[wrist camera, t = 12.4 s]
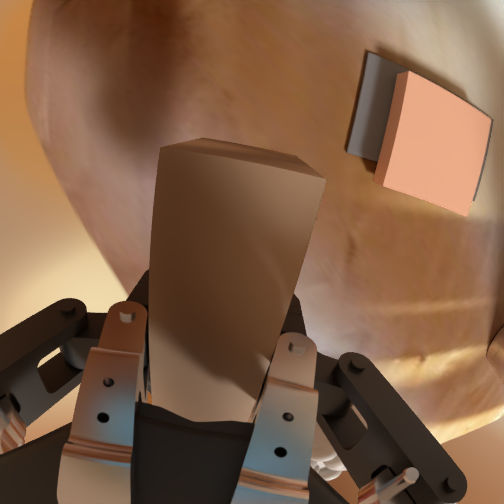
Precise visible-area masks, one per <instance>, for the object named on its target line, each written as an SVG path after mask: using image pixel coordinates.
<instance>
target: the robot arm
mask: <svg viewBox="0 0 504 504" xmlns="http://www.w3.org/2000/svg"><path fill="white" fill-rule="evenodd" d="M58 347H59V348H60V351H61V352H60V353H58V354H57V355H55V356H54V357H53V358H51V359H50V360H48V361H47V362H45V363H44V364H43V365H41V366H40V367H39V368H37V366H38V363H39V362H40V360H41V359H42V358H44V357H45V356H47V355H48V354H50V353H51V352H52V351H54V350H55V349H57V348H58ZM487 360H488V361H489V363H490V364H491V366H492V367H493V369H494V370H495V371H496V373H497V374H498V376H499V378H500V379H501V381H502V382H503V384H504V326H503V327H502V328H501V330H500V331H499V332H498V333H497V335H496V336H495V338H494V339H493V341H492V343H491V345H490V347H489V349H488V352H487ZM149 362H150V358H149V270H147V271H146V272H145V273H144V274H143V276H142V277H141V279H140V280H139V282H138V284H137V285H136V286H135V288H134V289H133V291H132V292H131V294H130V295H129V297H128V298H127V300H126V301H122V302H118V303H115V304H114V305H113V306H111V307H110V308H109V311H108V313H90V312H87V310H86V306H85V304H84V303H83V302H82V301H80V300H78V299H74V298H66V299H62V300H59V301H57V302H55V303H53V304H52V305H50V306H48V307H46V308H45V309H43V310H41V311H39V312H38V313H36V314H34V315H32V316H31V317H29V318H27V319H26V320H24V321H22V322H21V323H19V324H17V325H16V326H14V327H12V328H10V329H9V330H7V331H6V332H4V333H2V334H1V335H0V504H349V503H348V502H347V501H346V500H345V499H344V498H343V497H342V496H341V495H340V494H339V493H338V492H336V491H335V490H334V489H333V488H332V487H331V486H330V485H329V484H328V483H327V482H326V481H325V480H324V479H323V478H322V477H321V476H320V475H319V474H318V473H317V472H316V471H315V470H314V469H313V468H312V467H311V466H310V463H311V456H312V448H313V441H314V433H315V424H316V421H317V423H318V425H319V426H320V428H321V429H322V431H323V433H324V434H325V436H326V438H327V439H328V441H329V442H330V444H331V446H332V447H333V449H334V450H335V452H336V454H337V455H338V457H339V458H340V460H341V461H342V463H343V465H344V466H345V468H346V469H347V471H348V472H349V474H350V476H351V477H352V479H353V480H354V482H355V483H356V485H357V486H358V488H359V489H360V490H359V493H358V497H357V500H358V502H357V504H455V503H457V502H459V501H460V500H461V499H462V498H463V497H464V496H465V493H466V491H467V480H466V477H465V475H464V474H463V472H462V471H461V470H460V469H459V468H458V466H457V465H456V464H455V463H454V461H453V460H452V459H451V457H450V456H449V455H448V454H447V452H446V451H445V450H444V449H443V448H442V446H441V445H440V444H439V442H438V441H437V440H436V439H435V438H434V436H433V435H432V434H431V433H430V431H429V430H428V429H427V428H426V427H425V425H424V424H423V423H422V422H421V420H420V419H419V418H418V417H417V416H416V414H415V413H414V412H413V411H412V410H411V408H410V407H409V406H408V405H407V404H406V402H405V401H404V400H403V399H402V398H401V396H400V395H399V394H398V393H397V392H396V390H395V389H394V388H393V387H392V386H391V384H390V383H389V382H388V381H387V380H386V379H385V377H384V376H383V375H382V374H381V373H380V371H379V370H378V369H377V368H376V367H375V366H374V364H373V363H372V362H371V361H370V360H369V359H368V358H367V357H365V356H363V355H361V354H359V353H354V352H348V353H344V354H342V355H341V356H340V358H339V360H337V359H334V358H331V357H328V356H325V355H323V354H321V353H319V352H317V347H316V344H315V343H314V342H313V341H312V340H311V339H310V338H309V337H307V334H306V329H305V324H304V320H303V316H302V310H301V305H300V301H299V299H298V298H297V297H296V296H295V294H294V293H293V296H292V299H291V302H290V305H289V309H288V312H287V315H286V318H285V321H284V324H283V327H282V329H281V332H280V335H279V338H278V341H277V344H276V347H275V350H274V353H273V355H272V358H271V361H270V364H269V367H268V369H267V372H266V375H265V378H264V380H263V383H262V386H261V388H260V391H259V395H258V398H257V401H256V404H255V408H254V411H253V414H252V417H251V420H250V423H248V422H240V421H232V420H229V421H210V422H194V421H191V420H189V419H186V418H184V417H182V416H179V415H177V414H175V413H173V412H171V411H169V410H166V409H164V408H162V407H160V406H156V405H152V404H148V403H147V394H148V377H149ZM80 383H81V384H80ZM79 384H80V388H79V393H78V397H77V402H76V406H75V411H74V415H73V420H72V422H70V423H68V424H66V425H64V426H62V427H60V428H58V429H56V430H54V431H52V432H50V433H48V434H46V435H43V436H41V437H39V438H37V439H35V440H32V441H30V442H28V443H26V444H25V440H24V438H25V434H26V427H27V426H29V425H30V424H31V423H32V422H34V421H35V420H36V419H37V418H39V417H40V416H41V415H42V414H43V413H45V412H46V411H47V410H48V409H49V408H51V407H52V406H53V405H54V404H55V403H57V402H58V401H59V400H60V399H62V398H63V397H64V396H65V395H67V394H68V393H69V392H70V391H71V390H73V389H74V388H75V387H76V386H78V385H79ZM353 405H354V406H355V407H356V409H357V410H358V411H359V413H360V414H361V416H362V417H363V418H364V420H365V421H366V423H367V428H366V427H365V426H364V424H363V423H362V421H361V420H360V419H359V417H358V416H357V414H356V413H355V412H354V410H353V409H352V407H353Z"/></svg>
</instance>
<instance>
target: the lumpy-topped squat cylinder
mask: <svg viewBox="0 0 504 504" xmlns="http://www.w3.org/2000/svg"><path fill="white" fill-rule="evenodd" d="M352 409H353V410H354V412H355V413H356V414H357V416H358V417H359V419H360V420H361V421H362V423H363V424H364V426H365V427H366V428H367V423H366V421H365V420H364V418H363V417H362V416H361V414H360V413H359V411H358V410H357V409H356V407H355V406H354V405H353V407H352ZM310 466H311V467H312V468H313V469H314V470H315V471H316V472H317V473H318V474H319V475H320V476H321V477H322V478H323V479H324V480H325V481H327V480H332V479H334V478H336V477H338V476H339V475H340V473H341V471H342V470H347V469H346V468H345V466H344V465H343V463H342V461H341V460H340V458H339V457H338V455H337V454H336V452H335V450H334V449H333V447H332V446H331V444H330V442H329V441H328V439H327V438H326V436H325V434H324V433H323V431H322V429H321V428H320V426H319V425H318V423H317V421H316V424H315V433H314V441H313V448H312V456H311V463H310Z"/></svg>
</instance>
